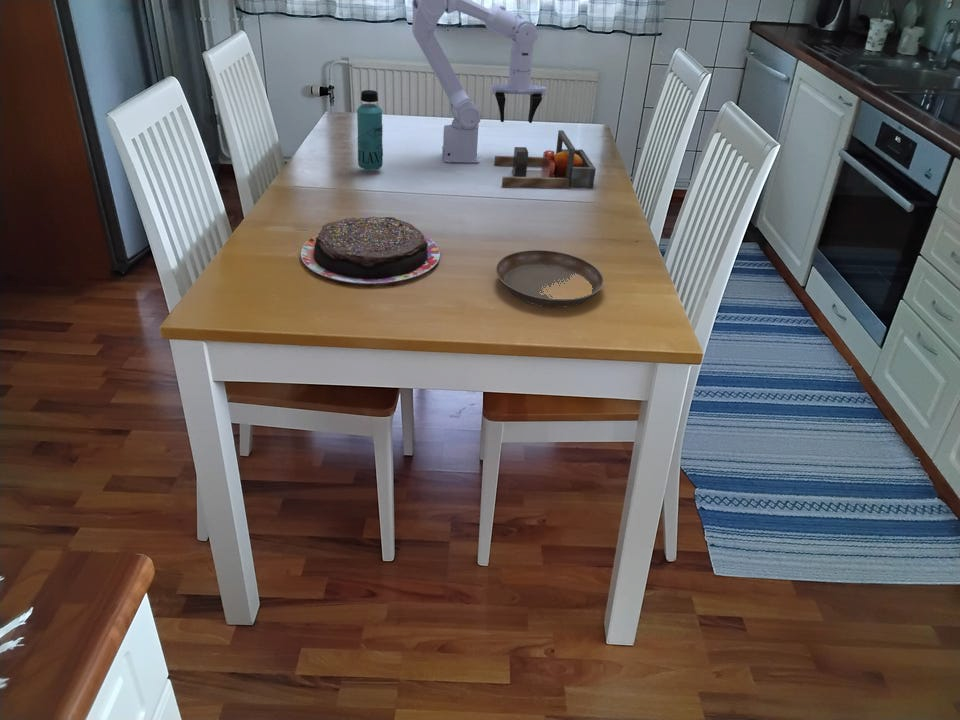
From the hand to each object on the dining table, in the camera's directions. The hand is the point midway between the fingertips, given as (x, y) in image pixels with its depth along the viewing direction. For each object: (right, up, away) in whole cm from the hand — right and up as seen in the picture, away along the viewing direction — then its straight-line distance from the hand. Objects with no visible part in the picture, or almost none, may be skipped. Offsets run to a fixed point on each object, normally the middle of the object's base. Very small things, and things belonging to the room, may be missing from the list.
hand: (516, 121), depth 204 cm
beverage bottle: (-38, -16, -11) cm, 43 cm away
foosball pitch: (+7, -16, -6) cm, 19 cm away
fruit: (+13, -17, -6) cm, 22 cm away
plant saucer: (+3, -51, -59) cm, 78 cm away
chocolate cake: (-32, -44, -52) cm, 75 cm away
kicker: (+4, -16, -7) cm, 18 cm away
